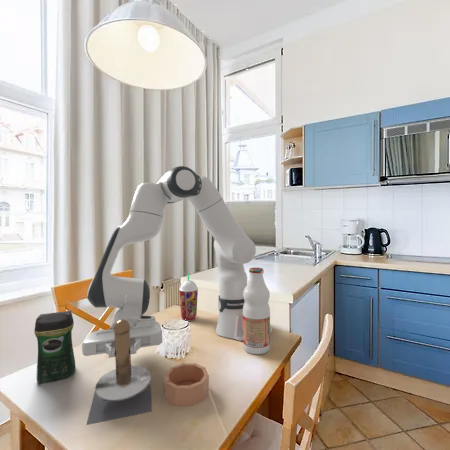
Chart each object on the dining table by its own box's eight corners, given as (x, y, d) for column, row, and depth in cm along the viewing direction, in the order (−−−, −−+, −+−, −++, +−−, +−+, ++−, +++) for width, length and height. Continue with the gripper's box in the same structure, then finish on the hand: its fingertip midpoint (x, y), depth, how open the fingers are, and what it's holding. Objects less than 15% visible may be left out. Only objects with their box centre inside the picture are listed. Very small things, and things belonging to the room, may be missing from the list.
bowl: (202, 377, 80) (202, 360, 80) (212, 403, 69) (212, 384, 69) (163, 384, 77) (163, 366, 77) (167, 412, 66) (166, 392, 66)
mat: (150, 379, 79) (150, 377, 79) (151, 413, 66) (151, 411, 66) (96, 388, 75) (96, 386, 75) (86, 427, 62) (86, 424, 62)
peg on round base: (150, 365, 78) (147, 308, 77) (151, 394, 66) (149, 326, 65) (99, 374, 75) (97, 314, 74) (91, 407, 62) (88, 334, 61)
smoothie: (197, 322, 120) (196, 276, 119) (177, 322, 120) (177, 276, 119) (199, 315, 128) (198, 272, 128) (181, 315, 129) (180, 272, 128)
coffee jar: (77, 365, 86) (75, 306, 86) (73, 379, 79) (71, 315, 78) (40, 372, 83) (38, 310, 82) (33, 387, 76) (30, 320, 75)
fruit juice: (252, 358, 91) (253, 272, 89) (237, 345, 99) (237, 267, 98) (275, 350, 95) (275, 269, 94) (259, 339, 103) (259, 265, 102)
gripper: (86, 324, 79) (75, 347, 66) (160, 315, 85) (163, 334, 72) (87, 346, 79) (76, 373, 66) (160, 335, 85) (164, 358, 72)
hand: (122, 352), depth 69 cm, fingers closed on peg on round base, 4 cm apart
